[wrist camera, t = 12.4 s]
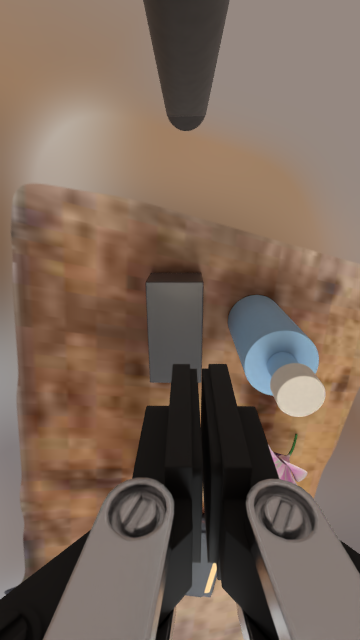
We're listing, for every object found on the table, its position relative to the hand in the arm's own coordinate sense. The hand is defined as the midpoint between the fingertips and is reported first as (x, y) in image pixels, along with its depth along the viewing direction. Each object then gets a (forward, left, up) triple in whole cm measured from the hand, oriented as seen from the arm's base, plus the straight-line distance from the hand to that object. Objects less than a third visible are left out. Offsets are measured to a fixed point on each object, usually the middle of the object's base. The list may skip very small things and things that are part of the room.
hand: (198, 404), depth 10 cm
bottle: (+7, +4, -27) cm, 28 cm away
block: (+7, -2, -28) cm, 29 cm away
